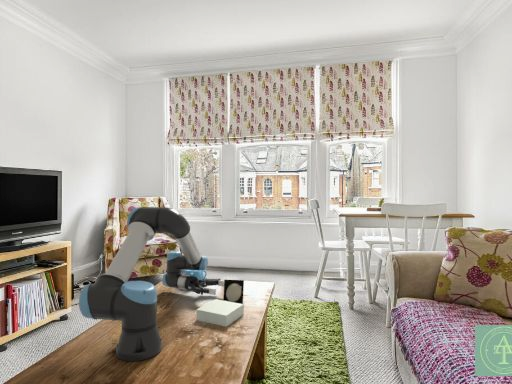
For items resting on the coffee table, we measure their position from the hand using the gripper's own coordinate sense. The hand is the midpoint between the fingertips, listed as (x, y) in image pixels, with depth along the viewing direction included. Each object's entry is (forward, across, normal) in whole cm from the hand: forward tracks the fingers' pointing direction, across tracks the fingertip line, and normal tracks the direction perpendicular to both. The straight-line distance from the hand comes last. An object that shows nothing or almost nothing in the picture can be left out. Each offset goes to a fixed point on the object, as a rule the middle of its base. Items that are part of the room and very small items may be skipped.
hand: (222, 288), depth 167 cm
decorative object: (+7, 0, -7) cm, 10 cm away
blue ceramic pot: (-29, -16, -7) cm, 34 cm away
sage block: (+10, +18, -7) cm, 22 cm away
